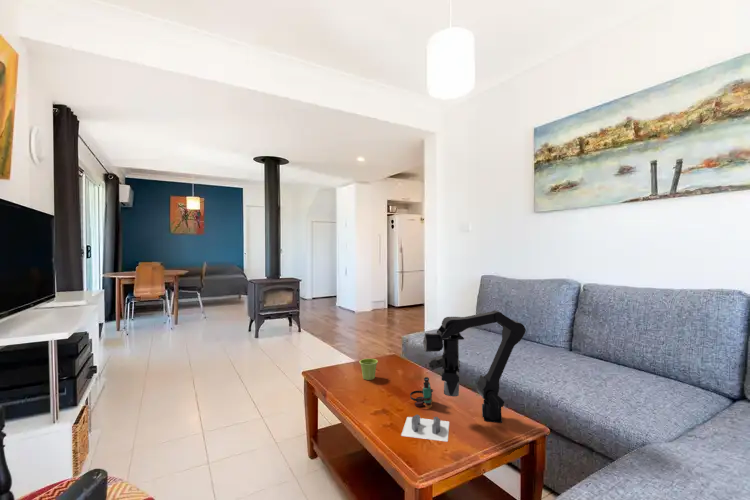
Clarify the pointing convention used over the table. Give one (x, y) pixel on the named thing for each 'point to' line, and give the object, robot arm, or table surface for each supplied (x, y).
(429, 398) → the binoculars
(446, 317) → the robot arm
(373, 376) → the plant pot
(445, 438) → the mat
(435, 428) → the curved wall segments
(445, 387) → the grey cylinder white dome
